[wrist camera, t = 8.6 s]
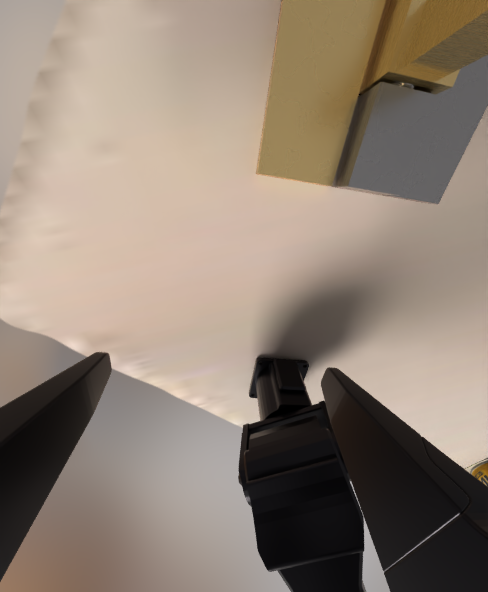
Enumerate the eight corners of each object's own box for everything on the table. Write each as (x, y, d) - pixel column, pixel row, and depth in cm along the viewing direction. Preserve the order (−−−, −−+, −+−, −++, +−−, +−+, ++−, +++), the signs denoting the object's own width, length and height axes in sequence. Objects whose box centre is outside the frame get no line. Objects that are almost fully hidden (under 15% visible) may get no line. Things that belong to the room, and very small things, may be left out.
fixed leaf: (428, 203, 19) (458, 205, 17) (331, 186, 18) (347, 186, 16) (562, -76, 13) (645, -141, 10) (422, -128, 11) (475, -216, 9)
